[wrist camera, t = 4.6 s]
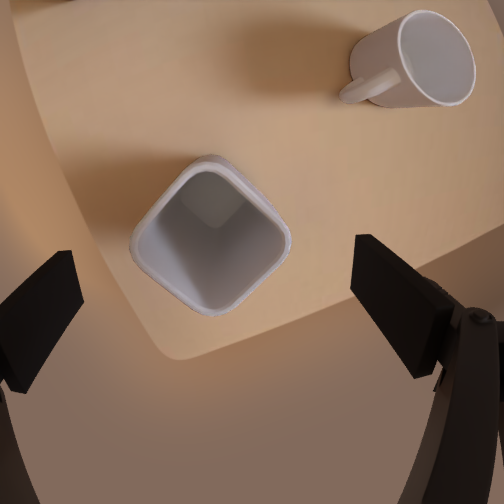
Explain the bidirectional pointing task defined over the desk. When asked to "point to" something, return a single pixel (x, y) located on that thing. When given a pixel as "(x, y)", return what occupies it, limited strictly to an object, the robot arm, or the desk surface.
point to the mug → (412, 64)
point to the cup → (210, 237)
